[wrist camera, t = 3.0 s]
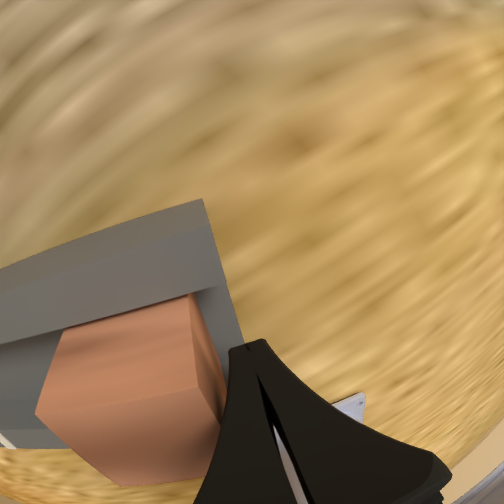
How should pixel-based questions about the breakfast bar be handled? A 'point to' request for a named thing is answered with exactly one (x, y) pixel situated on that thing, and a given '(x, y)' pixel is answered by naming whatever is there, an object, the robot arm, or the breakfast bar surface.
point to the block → (138, 393)
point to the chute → (102, 301)
